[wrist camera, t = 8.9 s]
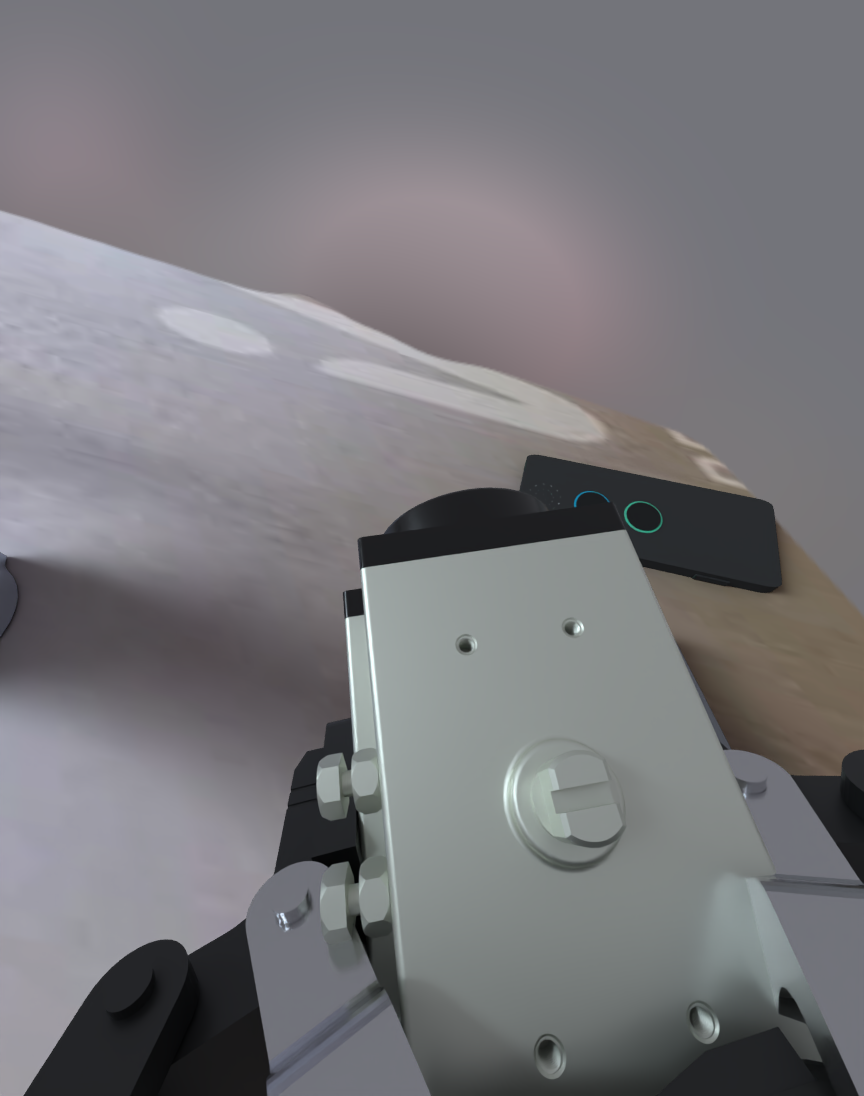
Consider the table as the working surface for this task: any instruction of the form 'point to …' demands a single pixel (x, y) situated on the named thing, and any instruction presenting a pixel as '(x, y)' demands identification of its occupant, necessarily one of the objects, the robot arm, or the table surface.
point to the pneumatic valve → (540, 810)
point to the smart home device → (671, 521)
